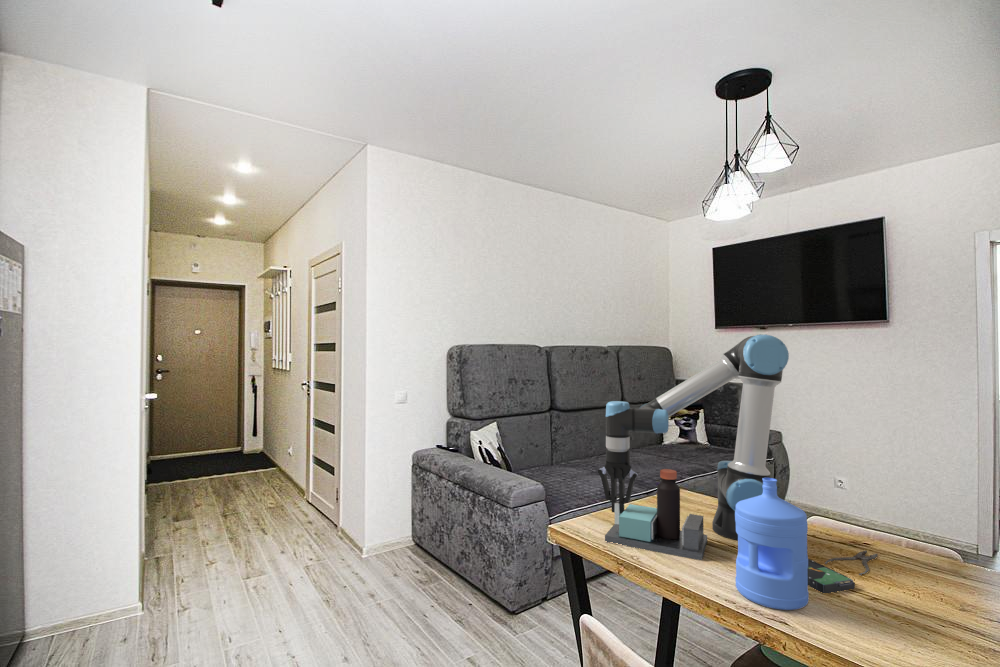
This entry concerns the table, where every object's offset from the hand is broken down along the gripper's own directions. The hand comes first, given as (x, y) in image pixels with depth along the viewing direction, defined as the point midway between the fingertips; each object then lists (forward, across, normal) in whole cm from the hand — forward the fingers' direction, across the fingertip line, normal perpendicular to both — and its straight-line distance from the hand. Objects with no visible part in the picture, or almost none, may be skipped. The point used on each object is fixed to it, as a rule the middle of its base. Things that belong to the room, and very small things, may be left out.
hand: (617, 522), depth 159 cm
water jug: (+4, -43, +21) cm, 48 cm away
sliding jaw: (+2, -7, 0) cm, 7 cm away
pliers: (+5, -64, -13) cm, 65 cm away
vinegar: (+2, -16, -1) cm, 16 cm away
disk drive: (+5, -53, +5) cm, 54 cm away
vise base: (+4, -12, 0) cm, 13 cm away
